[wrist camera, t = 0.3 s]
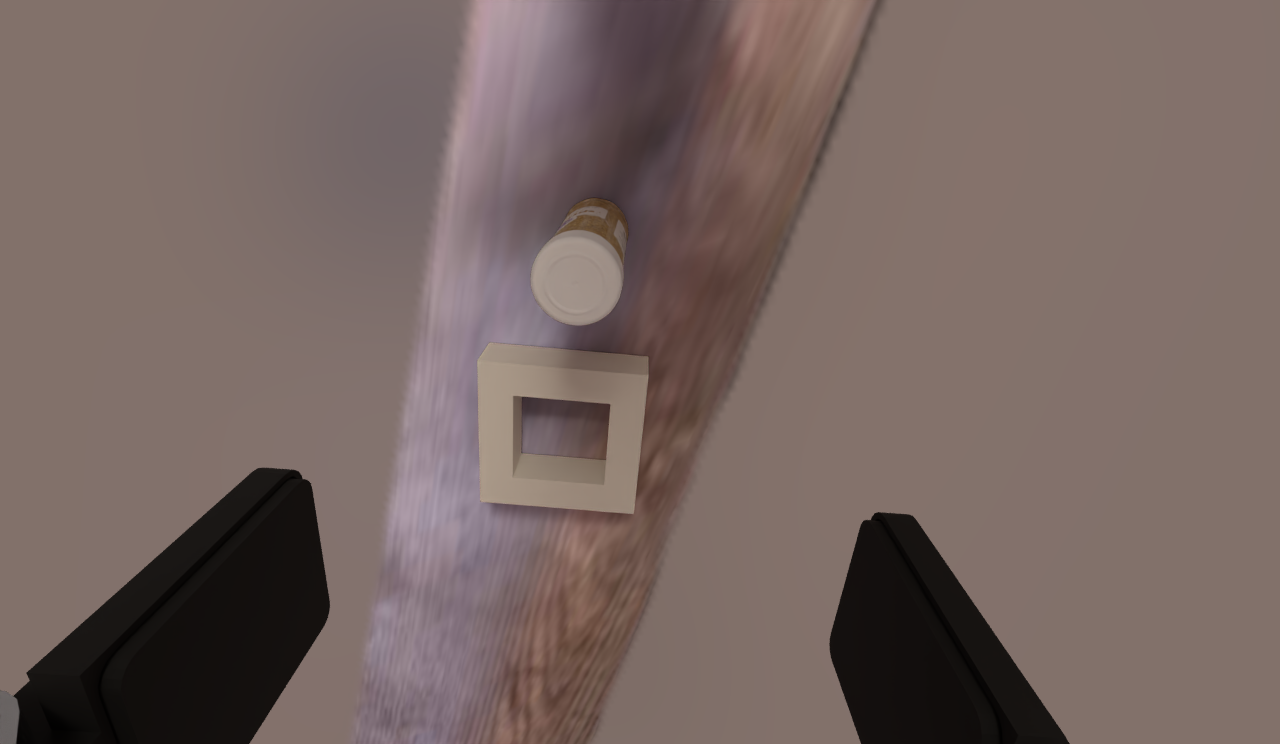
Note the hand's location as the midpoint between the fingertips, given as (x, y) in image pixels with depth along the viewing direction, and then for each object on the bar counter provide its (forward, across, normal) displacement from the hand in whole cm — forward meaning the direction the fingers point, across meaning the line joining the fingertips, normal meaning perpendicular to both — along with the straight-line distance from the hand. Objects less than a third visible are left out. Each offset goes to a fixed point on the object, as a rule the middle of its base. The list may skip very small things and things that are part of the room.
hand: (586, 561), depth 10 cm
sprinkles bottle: (+34, +2, 0) cm, 34 cm away
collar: (+34, +4, +15) cm, 37 cm away
